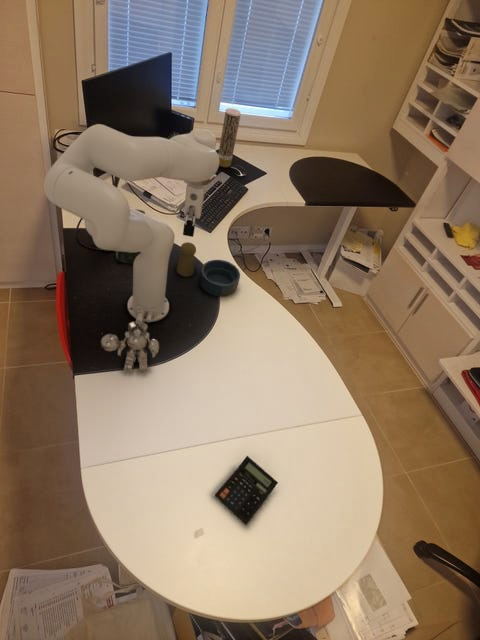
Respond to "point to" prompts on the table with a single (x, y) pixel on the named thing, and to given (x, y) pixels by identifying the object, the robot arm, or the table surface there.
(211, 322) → the table surface
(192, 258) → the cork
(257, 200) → the table surface
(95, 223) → the robot arm
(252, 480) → the calculator
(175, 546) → the table surface
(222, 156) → the paper tube
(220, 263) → the bowl
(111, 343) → the robot toy
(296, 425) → the table surface
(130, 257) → the coffee jar
